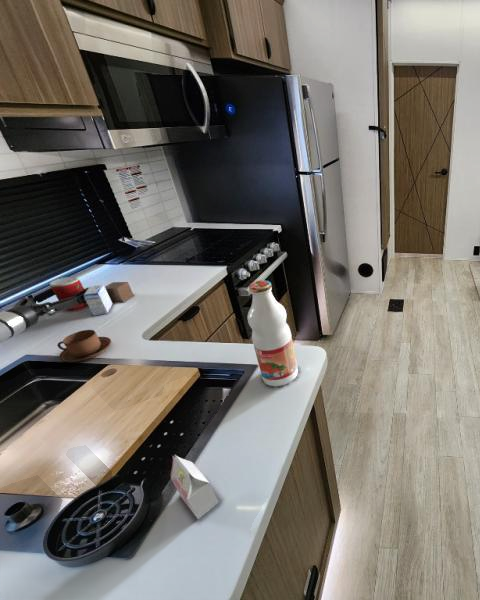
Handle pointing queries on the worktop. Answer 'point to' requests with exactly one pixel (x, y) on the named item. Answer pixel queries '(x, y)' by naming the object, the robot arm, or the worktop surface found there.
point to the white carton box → (192, 487)
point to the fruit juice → (271, 336)
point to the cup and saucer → (83, 346)
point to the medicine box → (98, 300)
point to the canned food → (68, 290)
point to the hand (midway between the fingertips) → (71, 290)
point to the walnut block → (119, 291)
